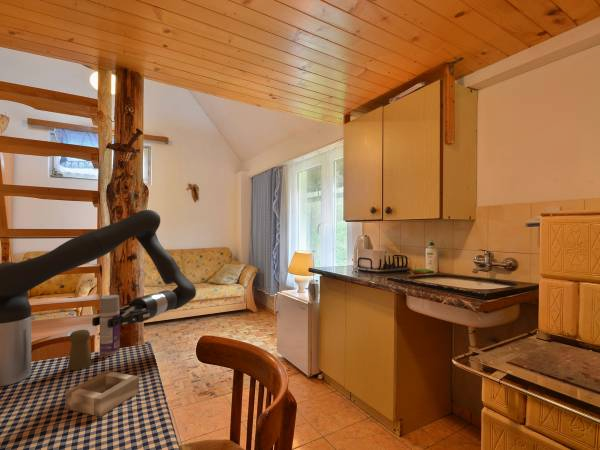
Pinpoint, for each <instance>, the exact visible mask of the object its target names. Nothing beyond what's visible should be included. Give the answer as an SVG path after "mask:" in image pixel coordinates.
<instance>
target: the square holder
mask: <svg viewBox="0 0 600 450" xmlns="http://www.w3.org/2000/svg"><path fill="white" fill-rule="evenodd" d="M139 389H140V376H138V375H132V374H127V373H120V372H115V371H111V370H109V371H108V370H105V371H104V372H101V373H99V374H97V375H95V376H93V377H92V378H89V379H88V380H85V381H84V382H81V383H80V384H78V385H76V386H74V387H71V388H70V389H67V390H66V391H65V392H64V393H65V398H64V399H65V400H64V401H65V402H64V403H65V404H64V405H65V409H66V410H70V411H76V412H80V413H83V414H86V415H92V416H96V417H102V416H105V414H107V413H109V412H110V411H112V410H113V409H115V408H117V407H118V406H119V405H121V404H122V403H124V402H125V401H127V400H129V399H130V398H131V397H133V396H135V395H136V394H137V393H138V394H139V392H140V391H139Z"/></svg>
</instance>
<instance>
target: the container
mask: <svg viewBox="0 0 600 450" xmlns="http://www.w3.org/2000/svg"><path fill="white" fill-rule="evenodd" d="M119 308H120V295H119V294H109V295H103V296H100V298H99V316H100V325H99V354H100V353H101V354H111V353H114V352H116V353H117V352H118V351H119V350H120V348H121V347H120V346H121V345H120V344H121V343H120V340H121V339H120V336H121V334H120V333H121V332H120V329H121V324H120V325H117V326H115V327H112V328H108V320H109V319H112V318H114V317H117V316H120V312H119Z"/></svg>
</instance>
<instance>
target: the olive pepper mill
mask: <svg viewBox="0 0 600 450" xmlns="http://www.w3.org/2000/svg"><path fill="white" fill-rule="evenodd" d="M90 337H91V335H90V331H89V330H88V329H78V330H75V331H72V332H71V333H70V334H69V342H70V343H71V345H70V352H69V358H68V363H67V371H70V370H75V371H80V369H81V370H84V369H86V367H87V368H88V366H89V367H90V366H91V365H92V359H91V354H90V346H89V340H90ZM83 368H84V369H83Z"/></svg>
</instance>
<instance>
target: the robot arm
mask: <svg viewBox="0 0 600 450" xmlns="http://www.w3.org/2000/svg"><path fill="white" fill-rule="evenodd" d="M160 225H161V215H160V214H159V213H158V212H156V211H155V210H151V209H143V210H139V211H137V212H135V213H133V214H132V215H129V216H127V217H125V218H123V219H121V220H119V221H117V222H116V221H115V222H113V223H111V224H108V225H106V226H102V227H99V228H97V229H95V230H92V231H88V232H87V233H86V232H85V233H83V234H81V235H78V236H75V237H73V238H70V239H68V240H67V241H65V242H63V243H62V244H60V245H59V246H57V247H55V248H54V249H52V250H51V251H48V252H47V253H43V254H42V255H39V256H36V257H32V258H29V259H27V260H26V259H25V260H22V261H19V262H13V261H5V262H0V387H5V386H10V385H13V384H16V383H19V382H21V381H24V380H25V379H27V378H29V377H30V376H31V375H32V306H31V303H30V301H29V291H31V290H32V289H34V288H36V287H37V286H39V285H41V284H43V283H44V282H47V281H49V280H50V279H52V278H54V277H56V276H59V275H61V274H63V273H65V272H68V271H71V270H73V269H76V268H78V267H80V266H83V265H86V264H89V263H91V262H93V261H95V260H97V259H99V258H101V257H104V256H106V255H107V254H109V253H111V252H113V250H115V249H116V248H118V247H119V246H120V245H122V244H123V243H124V242H126V241H127V240H129V239H131V238H133V237H134V238H135V239H136V240H137V241H138V242H139V244H140V246H141V247H142V248H143V250H144V251H145V252H146V253H147V255H148V256H149V258H150V259H151V261H152V262H153V265H154V266H155V269H156V270H157V272H158V274H159V277H160V278H161V280H162V282H163V283H164V284H165V285H171V284H175V285H176V286H177V287H175V288H174V289H172V290H170V289H168V290H162V291H158V292H154V293H153V292H152V293H150V294H146V295H142V296H139V297H136V298H133V299H132V300H130V302H129V304H128V305H124V306H122V307H119V312H120V316H117V317H114V318H112V319H109V320H108V328H112V327H115V326H117V325H120V326H121V325H127V324H128V325H134V324H136V323H142V322H143V323H144V322H145V321H146V322H147V321H148V320H151V319H152V318H156V317H157V316H159V315H161V314H163V313H166V312H168V311H172V310H173V311H174V310H177V309H179V308H182V307H183V306H185V305H186V304H188V303H189V302H190V301H192V300H193V299H195V297H196V295H197V290H196V289H197V288H196V286H195V285H194V284H193V283H192V282H191V281H190V279H188V277H186V276H185V275H184V274H183V273H182V271H181V269H180V266H179V265H178V263H177V262H176V260H175V258H174V257H173V256H172V255H171V254H170V252H168V251H167V250H166V249H165V248H164V247H163V246H162V245H161V244H162V243H160V241H159V239H158V235H157V233H156V232H157V230H158V229H159V227H160ZM91 321H92V323H91V325H92V326H93V327H97V326H100V315H98V316H95V317H93V318H92V320H91Z"/></svg>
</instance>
